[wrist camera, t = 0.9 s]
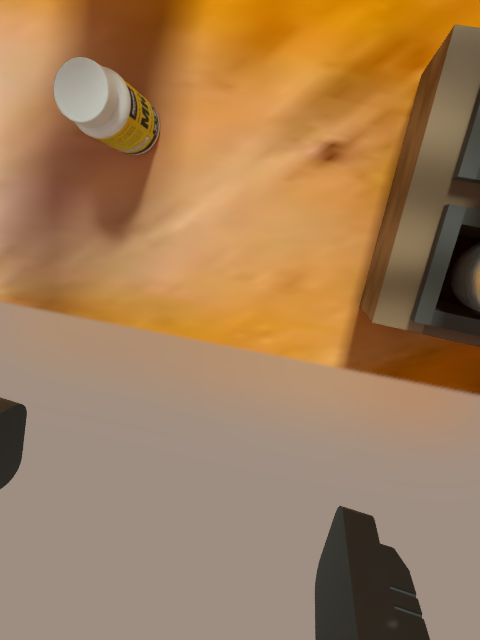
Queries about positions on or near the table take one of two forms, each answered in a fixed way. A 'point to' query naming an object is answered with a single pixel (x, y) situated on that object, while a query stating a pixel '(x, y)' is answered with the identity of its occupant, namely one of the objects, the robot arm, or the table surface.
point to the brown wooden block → (432, 199)
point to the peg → (467, 277)
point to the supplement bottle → (106, 106)
